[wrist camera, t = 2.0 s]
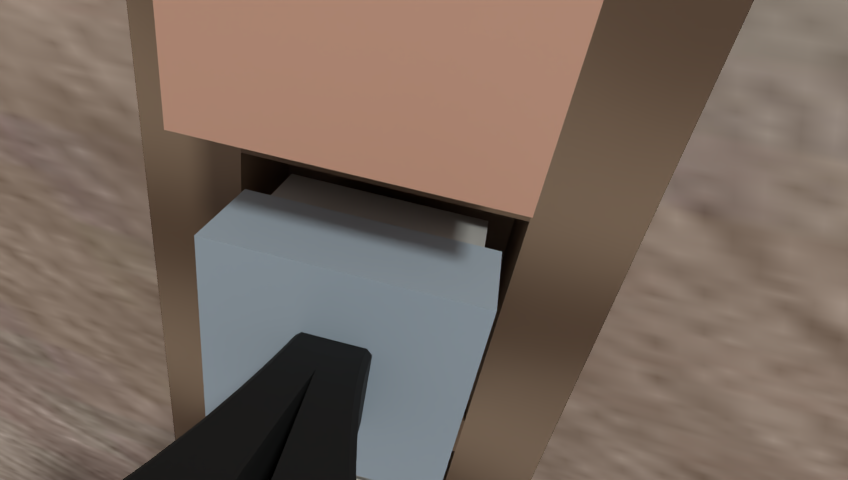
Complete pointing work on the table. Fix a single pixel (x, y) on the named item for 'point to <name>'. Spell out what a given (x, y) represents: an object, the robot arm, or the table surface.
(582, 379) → the table surface
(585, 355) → the brown long flat frame
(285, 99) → the terracotta key
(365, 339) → the slate key
